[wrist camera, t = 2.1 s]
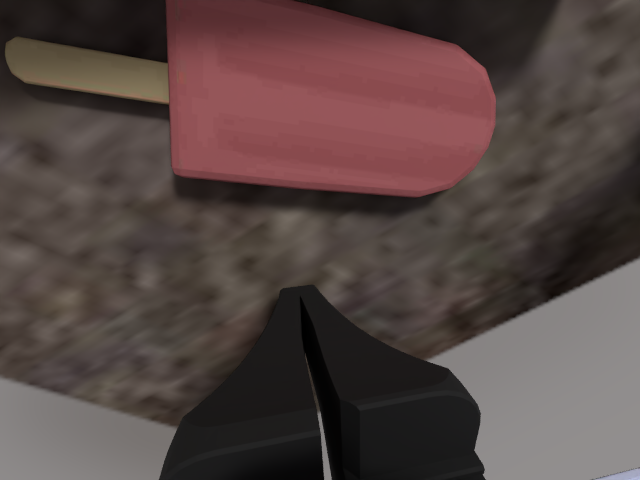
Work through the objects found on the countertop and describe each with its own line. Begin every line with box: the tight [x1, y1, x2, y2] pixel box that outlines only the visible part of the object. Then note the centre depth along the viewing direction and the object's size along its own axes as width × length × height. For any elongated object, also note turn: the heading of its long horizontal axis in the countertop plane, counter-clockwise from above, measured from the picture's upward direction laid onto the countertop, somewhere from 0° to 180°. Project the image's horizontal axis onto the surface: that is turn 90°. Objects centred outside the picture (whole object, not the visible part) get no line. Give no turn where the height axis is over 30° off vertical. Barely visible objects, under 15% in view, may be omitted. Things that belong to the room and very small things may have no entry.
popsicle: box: [5, 0, 496, 198], centre depth 10 cm, size 5×2×15 cm
